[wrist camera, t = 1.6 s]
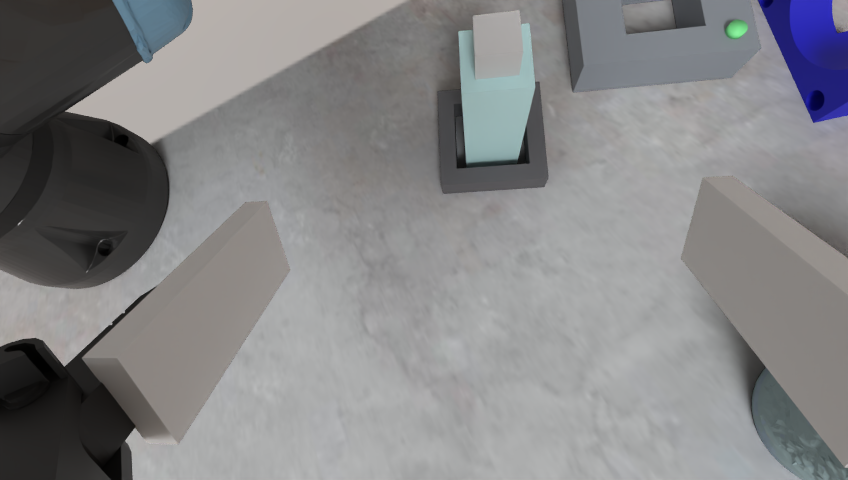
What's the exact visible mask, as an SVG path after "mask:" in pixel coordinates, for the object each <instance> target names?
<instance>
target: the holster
mask: <svg viewBox="0 0 848 480" xmlns="http://www.w3.org/2000/svg"><path fill="white" fill-rule="evenodd" d="M438 116H439V144H440V172H441V187H442V191H443V194H446V193H461V192H476V191H492V190H507V189H522V188H537V187H544V186H545V184H546V182H547V180H548V168H547V157H546V147H545V136H544V126H543V116H542V105H541V95H540V84H539V82H535V91H534V95H533V99H532V103H531V107H530V111H529V115H528V120H527V124H526V128H525V132H524V147H525V159H526V164H516V165H502V166H488V167H474V168H461V169H457V148H456V126H455V117H457V116H463V108H462V94H461V89H458V90H447V91H438Z"/></svg>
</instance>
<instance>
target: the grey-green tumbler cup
mask: <svg viewBox="0 0 848 480" xmlns="http://www.w3.org/2000/svg"><path fill="white" fill-rule="evenodd" d="M752 414H753V420H754V423H755V426H756V429H757V432H758V434H759V436H760V438H761V440H762V442H763V443H764V445H765V446H766V448H767V449H768V450H769V452H770V453H771V454H772V455H773V456H774V457H775V458H776V460H777V461H778V462H779V463H781V464H782V465H783V466H784V467H785V468H786V469H788V470H789V471H790V472H791V473H793V474H794V475H796V476H797V477H799V478H801V479H802V480H848V468H845V467H844V466H843V465H842V464H841V462H840V461H839V460H838V458H837V457H836V456H835V455H834V453H833V452H832V451H831V449H830V448H829V447H828V446H827V444H826V443H825V442H824V441H823V439H822V438H821V437H820V435H819V434H818V433H817V432H816V430H815V429H814V428H813V426H812V425H811V424H810V423H809V421H808V420H807V419H806V418H805V416H804V415H803V414H802V412H801V411H800V410H799V409H798V407H797V406H796V405H795V403H794V402H793V401H792V400H791V398H790V397H789V396H788V395H787V393H786V392H785V391H784V389H783V388H782V387H781V386H780V384H779V383H778V382H777V380H776V379H775V378H774V377H773V375H772V374H771V373H770V372H769V370H768V369H767V368H765V369H764V370H763V372H762V373H761V374H760V376H759V378H758V379H757V381H756V384H755V387H754V390H753V395H752Z"/></svg>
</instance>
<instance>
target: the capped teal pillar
mask: <svg viewBox="0 0 848 480" xmlns="http://www.w3.org/2000/svg"><path fill="white" fill-rule="evenodd" d="M458 33H459V53H460V74H461V94H462V108H463V123H464V137H465V152H466V166H467V168H474V167H488V166H502V165H516V164H517V161H518V157H519V153H520V149H521V144H522V140H523V136H524V132H525V128H526V124H527V120H528V115H529V111H530V107H531V103H532V99H533V95H534V91H535V77H534V66H533V56H532V45H531V34H530V23H527V24H521V20H520V10H516V11H508V12H499V13H491V14H482V15H474V16H473V30H465V31H458Z"/></svg>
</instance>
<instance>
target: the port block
mask: <svg viewBox="0 0 848 480" xmlns="http://www.w3.org/2000/svg"><path fill="white" fill-rule="evenodd" d="M562 1H563V9H564V18H565V27H566V35H567V44H568V53H569V62H570V70H571V79H572V88H573V92H582V91H593V90H604V89H615V88H626V87H637V86H648V85H658V84H669V83H680V82H691V81H702V80H713V79H724V78H731V77H732V76H733V75H734V74H735V73H736V72H737V71H738V70H739V69H740V68H741V67H742V66H744V65H745V64H746V63H747V62H748V61H749V60H750V59H751V58H752V57H753V56H754V55H755V54H756V53H757V52H758V51H759V50H760V49H761V45H760V41H759V36H758V32H757V28H756V23H755V19H754V15H753V10H752V6H751V2H750V0H672V4H673V9H674V15H675V20H676V26H677V29H671V30H662V31H652V32H643V33H634V34H626V30H625V23H624V17H623V10H622V5H626V4H635V3H644V2H652V1H661V0H562Z"/></svg>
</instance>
